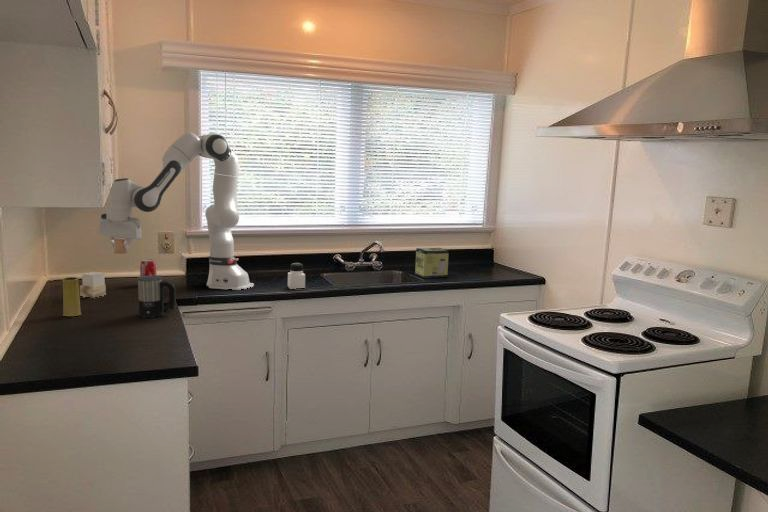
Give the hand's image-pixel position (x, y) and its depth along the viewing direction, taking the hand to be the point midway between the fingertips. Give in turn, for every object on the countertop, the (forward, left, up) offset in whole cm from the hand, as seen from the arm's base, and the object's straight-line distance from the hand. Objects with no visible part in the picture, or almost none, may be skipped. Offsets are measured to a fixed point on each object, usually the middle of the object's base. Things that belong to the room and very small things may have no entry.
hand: (120, 247), depth 257 cm
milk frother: (-35, +18, -21) cm, 44 cm away
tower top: (+7, +9, -16) cm, 19 cm away
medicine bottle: (-60, -49, -21) cm, 80 cm away
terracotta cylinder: (0, 0, -2) cm, 2 cm away
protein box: (-110, -114, -21) cm, 160 cm away
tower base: (+7, +9, -21) cm, 24 cm away
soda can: (+3, -20, -21) cm, 29 cm away
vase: (-11, +37, -21) cm, 44 cm away
